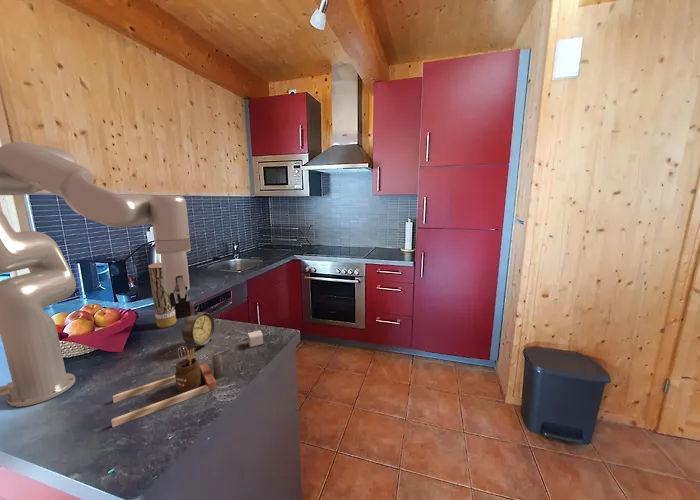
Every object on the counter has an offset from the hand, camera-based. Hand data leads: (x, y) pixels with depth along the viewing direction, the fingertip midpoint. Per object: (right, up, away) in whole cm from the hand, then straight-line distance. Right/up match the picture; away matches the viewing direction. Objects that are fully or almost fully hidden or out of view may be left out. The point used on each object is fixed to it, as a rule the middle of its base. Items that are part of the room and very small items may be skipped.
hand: (180, 310), depth 76 cm
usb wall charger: (+10, -17, +26) cm, 33 cm away
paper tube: (-30, -15, +42) cm, 54 cm away
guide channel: (-3, -22, +2) cm, 22 cm away
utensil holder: (0, -22, +4) cm, 22 cm away
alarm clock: (-8, -18, +25) cm, 32 cm away
